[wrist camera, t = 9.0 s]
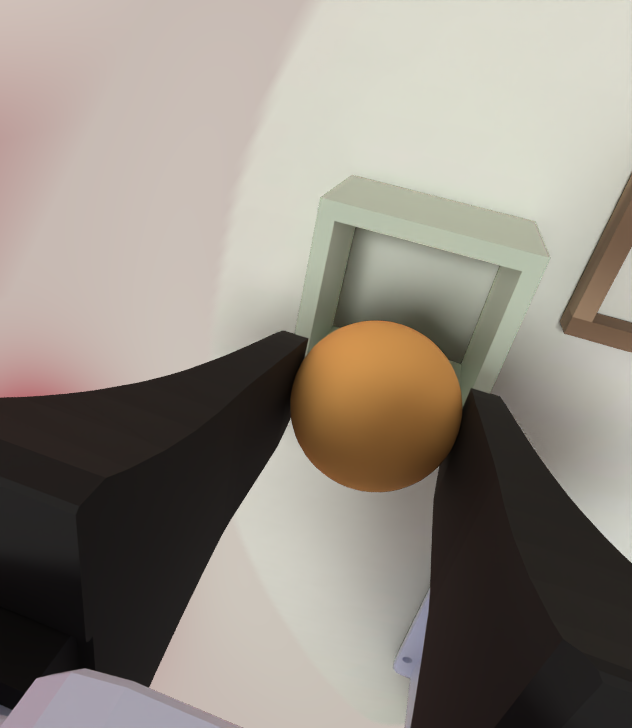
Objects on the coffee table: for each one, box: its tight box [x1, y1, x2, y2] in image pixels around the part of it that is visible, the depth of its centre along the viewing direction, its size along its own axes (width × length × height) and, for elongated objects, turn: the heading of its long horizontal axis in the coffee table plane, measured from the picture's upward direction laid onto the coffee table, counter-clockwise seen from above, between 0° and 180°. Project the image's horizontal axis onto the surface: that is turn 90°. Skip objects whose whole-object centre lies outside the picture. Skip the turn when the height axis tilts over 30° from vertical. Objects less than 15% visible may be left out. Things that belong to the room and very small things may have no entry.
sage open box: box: [295, 175, 550, 408], centre depth 16 cm, size 6×6×4 cm
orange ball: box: [290, 320, 462, 492], centre depth 11 cm, size 4×4×4 cm
